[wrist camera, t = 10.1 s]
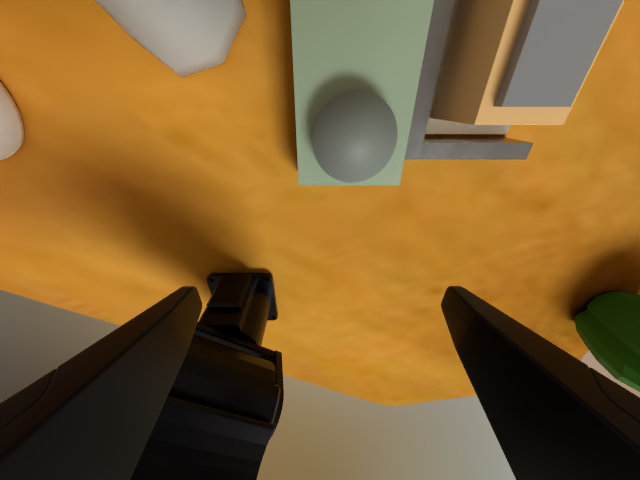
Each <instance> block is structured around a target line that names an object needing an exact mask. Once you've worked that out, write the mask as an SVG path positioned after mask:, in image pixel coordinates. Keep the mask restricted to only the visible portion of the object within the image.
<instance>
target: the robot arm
mask: <svg viewBox="0 0 640 480" xmlns="http://www.w3.org/2000/svg"><path fill="white" fill-rule="evenodd" d="M212 278H213V279H212ZM266 278H269V279H266ZM207 282H208V285H209V288H210V291H211V294H212V296H211V298H210V300H209V301H208V303H207V307H206V309H205V311H204V313H203V314H202V316H201V318H200V320H199V322H198V319H199V316H200V313H201V310H202V301H201V299H200V296H199V293H198V291H197V288H196V287H193V286H184V287H181V288H180V289H178V290H176V291H175V292H173V293H172V294H170V295H169V296H167V297H166V298H164V299H162V300H161V301H159V302H158V303H156V304H155V305H153V306H152V307H150V308H148V309H147V310H145V311H144V312H142V313H141V314H139V315H138V316H136V317H135V318H133V319H131V320H130V321H128V322H127V323H125V324H124V325H122V326H121V327H119V328H117V329H116V330H114V331H113V332H111V333H110V334H108V335H107V336H105V337H104V338H102V339H100V340H99V341H97V342H96V343H94V344H93V345H91V346H89V347H88V348H86V349H85V350H83V351H82V352H80V353H79V354H77V355H76V356H74V357H73V358H71V359H69V360H68V361H66V362H65V363H63V364H61V365H60V366H59V367H58V368H57V369H54V370H52V371H51V372H49V373H48V374H46V375H44V376H43V377H41V378H40V379H38V380H37V381H35V382H34V383H32V384H30V385H29V386H27V387H25V388H24V389H22V390H21V391H19V392H18V393H16V394H14V395H13V396H11V397H10V398H8V399H6V400H5V401H3V402H1V403H0V480H256V479H257V475H258V471H259V467H260V464H261V461H262V458H263V455H264V452H265V449H266V446H267V444H268V441H269V440H270V438H271V437H272V435H273V433H274V431H275V429H276V426H277V424H278V421H279V418H280V414H281V410H282V406H283V396H284V393H283V392H284V391H283V372H282V353H281V352H278V351H273V350H270V349H267V348H265V347H262V346H261V344H262V340H263V336H264V331H265V327H266V323H267V320H276V319H277V316H278V312H277V304H276V297H275V290H274V282H273V276H272V275H271V274H269V273H211V274H209V275H208V277H207ZM441 307H442V311H443V314H444V317H445V320H446V323H447V326H448V328H449V331H450V334H451V337H452V340H453V343H454V346H455V348H456V351H457V353H458V355H459V357H460V360H461V362H462V364H463V366H464V368H465V370H466V373H467V375H468V377H469V379H470V381H471V383H472V385H473V388H474V390H475V392H476V394H477V396H478V398H479V401H480V403H481V405H482V407H483V409H484V411H485V413H486V416H487V418H488V420H489V422H490V424H491V426H492V428H493V431H494V433H495V435H496V437H497V439H498V441H499V444H500V446H501V448H502V450H503V452H504V454H505V456H506V459H507V461H508V463H509V465H510V467H511V469H512V472H513V474H514V476H515V478H516V480H640V398H639V397H638V396H636V395H635V394H633V393H631V392H630V391H628V390H626V389H625V388H623V387H621V386H620V385H618V384H617V383H615V382H613V381H611V380H610V379H608V378H607V377H605V376H604V375H602V374H600V373H599V372H597V371H596V370H594V369H592V368H589V367H588V366H587V365H586V364H584V363H583V362H581V361H580V360H578V359H576V358H575V357H573V356H572V355H570V354H568V353H567V352H565V351H564V350H562V349H560V348H559V347H557V346H556V345H554V344H552V343H551V342H549V341H548V340H546V339H544V338H543V337H541V336H540V335H538V334H537V333H535V332H533V331H532V330H530V329H529V328H527V327H525V326H524V325H522V324H521V323H519V322H517V321H516V320H514V319H513V318H511V317H509V316H508V315H506V314H505V313H503V312H501V311H500V310H498V309H497V308H495V307H493V306H492V305H490V304H489V303H487V302H485V301H484V300H482V299H481V298H479V297H477V296H476V295H474V294H473V293H471V292H469V291H468V290H466V289H465V288H463V287H461V286H449V287H448V288H447V290H446V292H445V295H444V297H443V300H442V303H441Z"/></svg>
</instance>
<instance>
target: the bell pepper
mask: <svg viewBox="0 0 640 480" xmlns="http://www.w3.org/2000/svg"><path fill="white" fill-rule="evenodd" d="M574 318H575V324H576V329H577V332H578V334H579V335H580V337H581V338H582V340H583V342H584V343H585V345H586V346H587V347H588V349H589V350H590V351H591V353H592V354H593V355H594V357H595V358H596V360H597V361H598V362H599V363H600V364H601V365H602V366H603V367H604V368H605V369H606V370H607V371H608V372H609V373H610V374H611V375H612V376H614V377H615V378H616V379H617V380H619V381H621V382H622V383H624V384H626V385H628V386H630V387H632V388H634V389H636V390H637V391H639V392H640V295H639V294H636V293H630V292H625V291H619V292H608V293H605V294H602V295H599V296H597V297H596V298H595V299H593V300H592V301H591V302H590V303H589V304H588V305H587V310H585V311H583V312H581V313H579V314H577V315H576V316H575V317H574Z"/></svg>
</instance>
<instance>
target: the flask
mask: <svg viewBox="0 0 640 480" xmlns="http://www.w3.org/2000/svg"><path fill="white" fill-rule="evenodd" d="M95 1H96V2H97V3H98V4H99V5H100V6H101V7H102V8H103V9H104V10H105V11H106V12H107V13H108V14H109V15H110V16H111V17H112V18H113V19H114V20H115V21H116V22H117V23H118V24H119V25H120V26H121V27H122V28H123V29H124V31H125V32H126V33H127V34H129V35H130V36H131V37H132V38H133V39H134V40H135V41H136V42H137V43H139V44H140V45H141V46H143V47H144V48H145V49H146V50H148V51H149V52H150V53H151V54H153V55H154V56H155V57H157V58H158V59H159V60H160V61H162V62H163V63H164V64H166V65H167V66H168V67H169V68H171V69H172V70H173V71H174V72H176V73H177V74H178V75H180V76H181V77H184V76H187V75H190V74H193V73H196V72H199V71H202V70H205V69H208V68H211V67H214V66H217V65H220V64H223V63H224V61H225V58H226V56H227V54H228V52H229V50H230V48H231V46H232V43H233V41H234V39H235V37H236V35H237V33H238V31H239V28H240V26H241V24H242V22H243V20H244V18H245V15H246V12H245V9H244V6H243V3H242V0H95Z"/></svg>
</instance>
